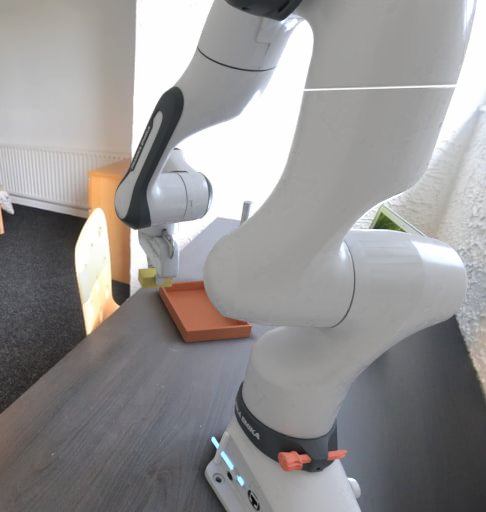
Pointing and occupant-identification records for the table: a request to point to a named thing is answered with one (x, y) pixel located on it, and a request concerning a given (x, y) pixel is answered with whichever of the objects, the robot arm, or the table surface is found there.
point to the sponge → (151, 279)
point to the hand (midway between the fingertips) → (155, 277)
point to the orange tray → (199, 314)
